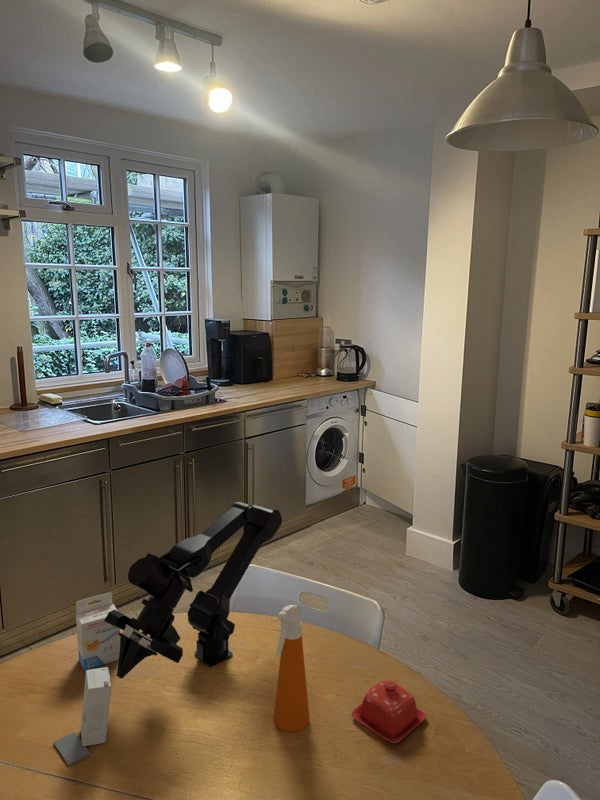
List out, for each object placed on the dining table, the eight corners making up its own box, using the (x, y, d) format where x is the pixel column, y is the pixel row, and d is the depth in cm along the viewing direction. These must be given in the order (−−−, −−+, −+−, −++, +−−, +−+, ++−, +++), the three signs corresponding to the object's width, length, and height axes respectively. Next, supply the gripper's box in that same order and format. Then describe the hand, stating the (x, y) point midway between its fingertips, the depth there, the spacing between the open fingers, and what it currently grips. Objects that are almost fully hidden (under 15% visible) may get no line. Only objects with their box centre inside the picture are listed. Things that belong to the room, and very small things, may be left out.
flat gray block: (74, 733, 114) (74, 731, 114) (90, 754, 109) (90, 752, 109) (53, 744, 112) (53, 742, 112) (68, 766, 107) (68, 764, 107)
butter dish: (383, 692, 127) (384, 656, 125) (429, 720, 119) (431, 683, 117) (347, 719, 119) (348, 682, 117) (394, 752, 111) (396, 712, 109)
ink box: (84, 672, 132) (79, 611, 129) (78, 660, 136) (74, 601, 133) (122, 659, 136) (119, 600, 133) (115, 647, 141) (112, 590, 137)
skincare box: (80, 725, 116) (83, 668, 114) (104, 721, 118) (108, 665, 116) (82, 748, 110) (86, 689, 108) (107, 743, 112) (111, 685, 110)
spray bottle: (259, 740, 113) (259, 614, 108) (282, 703, 123) (282, 586, 118) (294, 751, 111) (295, 623, 105) (314, 712, 120) (316, 593, 115)
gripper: (214, 631, 123) (174, 708, 117) (155, 600, 134) (116, 669, 128) (184, 613, 115) (139, 694, 109) (124, 582, 126) (81, 654, 120)
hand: (119, 677), depth 117 cm, fingers closed
